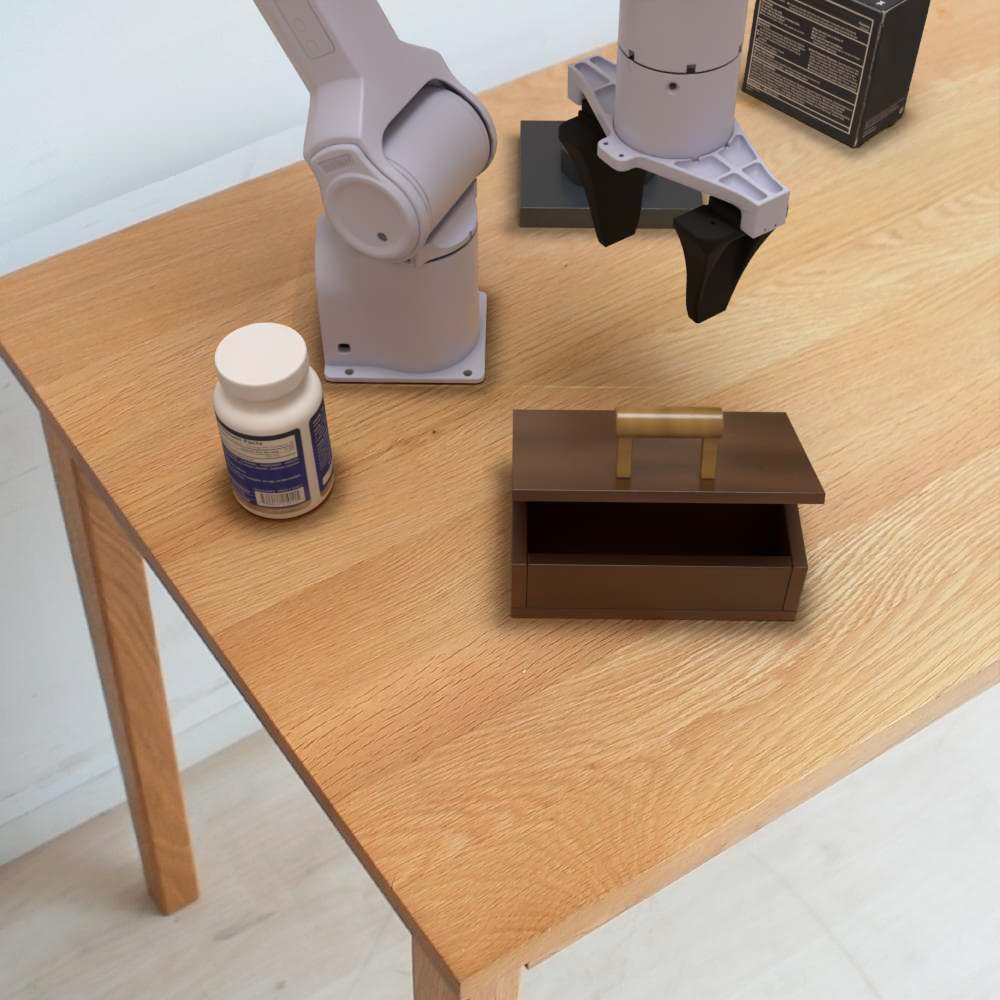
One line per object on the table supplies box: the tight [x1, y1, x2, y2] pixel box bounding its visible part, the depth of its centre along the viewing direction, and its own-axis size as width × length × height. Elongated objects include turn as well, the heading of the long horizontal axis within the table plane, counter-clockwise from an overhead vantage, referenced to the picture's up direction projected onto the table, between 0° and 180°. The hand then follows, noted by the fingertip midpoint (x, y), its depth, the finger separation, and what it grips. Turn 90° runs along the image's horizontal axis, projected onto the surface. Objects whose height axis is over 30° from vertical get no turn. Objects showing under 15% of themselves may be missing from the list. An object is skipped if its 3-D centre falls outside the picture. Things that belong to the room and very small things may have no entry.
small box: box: [741, 0, 932, 148], centre depth 101 cm, size 11×6×10 cm, turn 44°
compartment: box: [510, 500, 809, 621], centre depth 76 cm, size 10×15×4 cm
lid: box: [511, 405, 827, 505], centre depth 72 cm, size 11×15×4 cm
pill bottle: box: [212, 322, 335, 520], centre depth 77 cm, size 6×6×10 cm
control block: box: [518, 119, 704, 230], centre depth 97 cm, size 12×10×4 cm
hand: (660, 274), depth 76 cm, fingers open, 7 cm apart
